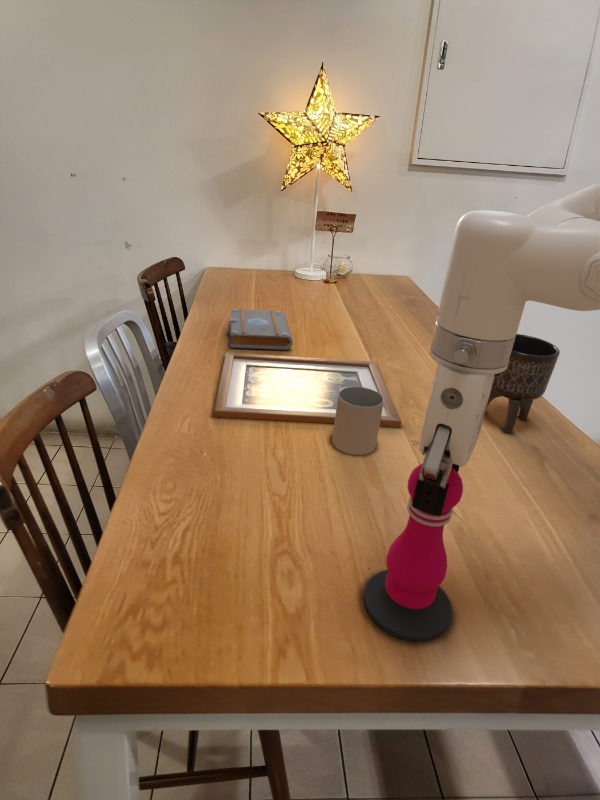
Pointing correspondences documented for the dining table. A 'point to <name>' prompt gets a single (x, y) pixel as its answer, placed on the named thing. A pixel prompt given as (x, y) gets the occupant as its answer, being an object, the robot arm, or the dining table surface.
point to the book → (259, 329)
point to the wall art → (294, 388)
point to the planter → (524, 376)
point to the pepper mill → (421, 549)
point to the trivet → (406, 613)
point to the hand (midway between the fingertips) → (434, 493)
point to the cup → (357, 420)
